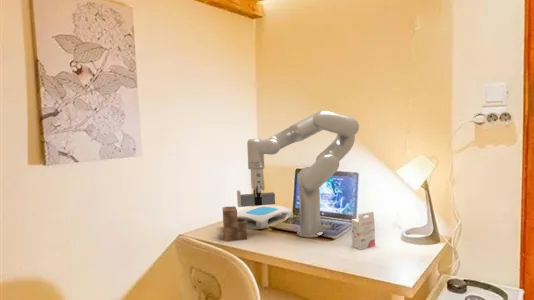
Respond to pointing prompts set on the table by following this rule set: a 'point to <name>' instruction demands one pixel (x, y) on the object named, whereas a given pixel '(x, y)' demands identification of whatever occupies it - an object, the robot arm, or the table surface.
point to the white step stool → (263, 215)
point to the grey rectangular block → (250, 199)
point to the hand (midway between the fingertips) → (257, 204)
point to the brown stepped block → (233, 225)
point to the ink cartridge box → (363, 231)
